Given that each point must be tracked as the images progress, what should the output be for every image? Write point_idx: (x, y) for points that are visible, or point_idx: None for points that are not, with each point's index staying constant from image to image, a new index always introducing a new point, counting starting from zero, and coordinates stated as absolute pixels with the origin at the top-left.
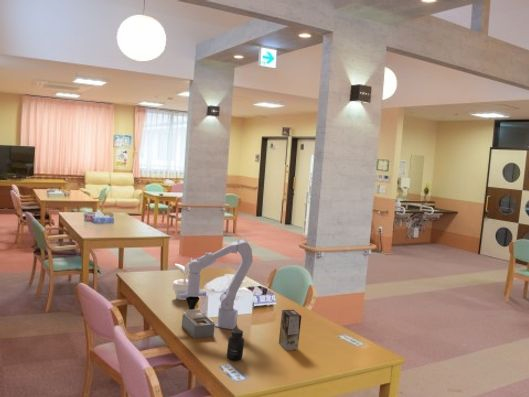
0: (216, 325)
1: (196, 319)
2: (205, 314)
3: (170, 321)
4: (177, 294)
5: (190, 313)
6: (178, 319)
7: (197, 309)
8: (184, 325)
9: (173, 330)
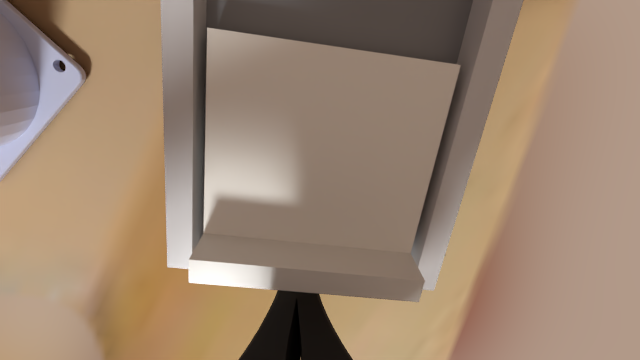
0: (63, 72)
1: (372, 29)
2: (165, 93)
3: (418, 316)
4: None
5: (369, 225)
6: (339, 332)
7: (241, 263)
8: None
9: (519, 141)
